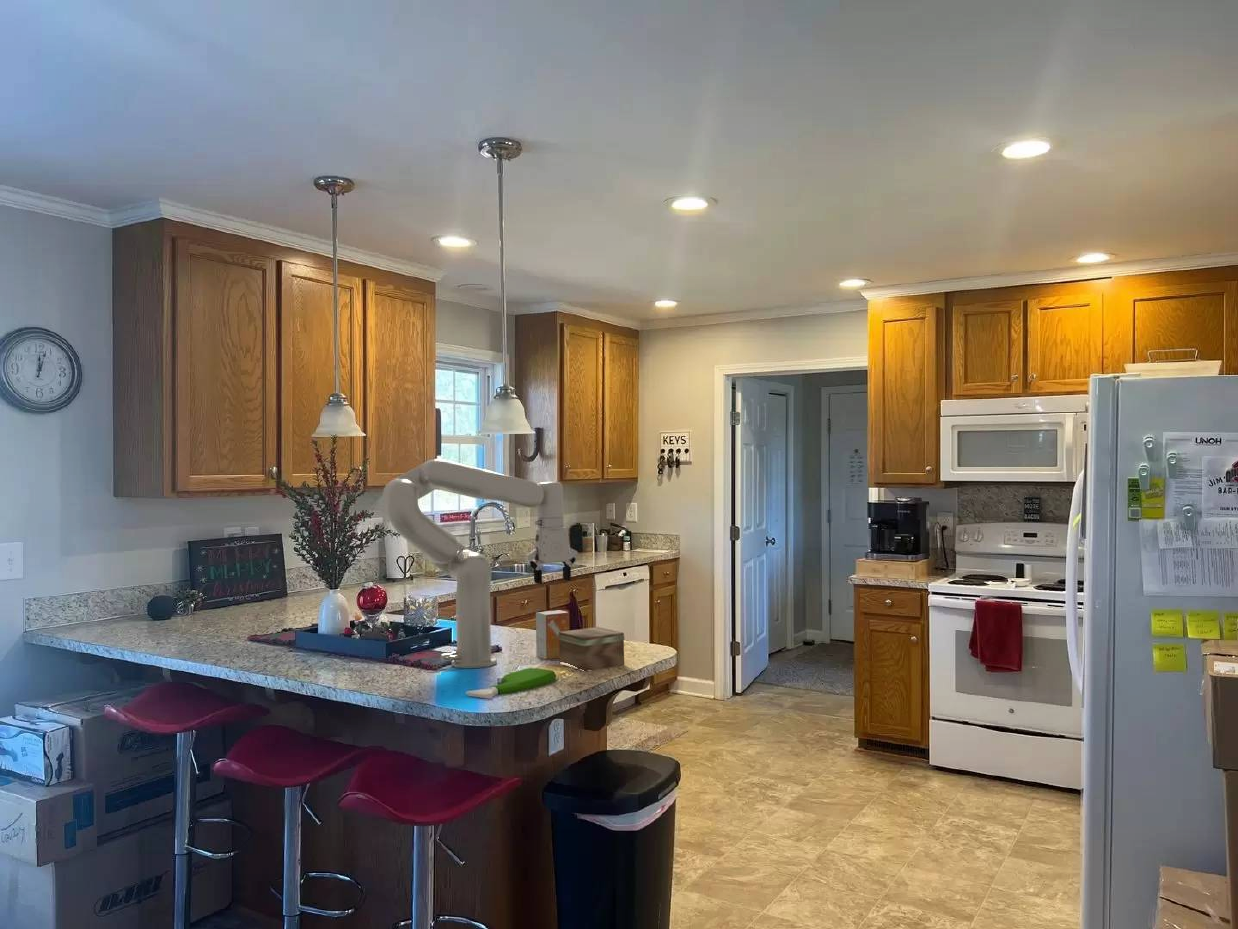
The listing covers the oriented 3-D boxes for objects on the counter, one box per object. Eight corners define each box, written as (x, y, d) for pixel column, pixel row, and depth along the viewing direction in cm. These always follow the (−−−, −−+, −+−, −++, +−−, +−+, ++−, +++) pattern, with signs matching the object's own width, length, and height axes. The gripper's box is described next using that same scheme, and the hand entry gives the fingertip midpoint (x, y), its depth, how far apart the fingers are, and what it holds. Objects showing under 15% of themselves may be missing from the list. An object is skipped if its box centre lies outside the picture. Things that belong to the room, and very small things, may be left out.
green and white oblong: (560, 682, 232) (495, 704, 212) (527, 678, 238) (461, 699, 218) (559, 671, 232) (495, 692, 212) (527, 666, 238) (461, 686, 218)
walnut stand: (584, 672, 242) (584, 638, 242) (558, 664, 253) (558, 632, 253) (625, 665, 250) (624, 632, 250) (598, 658, 261) (597, 626, 261)
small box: (546, 660, 260) (545, 614, 260) (535, 656, 265) (535, 612, 265) (570, 656, 264) (569, 611, 265) (559, 653, 270) (559, 609, 270)
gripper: (531, 525, 257) (533, 585, 257) (582, 522, 267) (584, 580, 267) (518, 525, 264) (520, 583, 263) (569, 521, 274) (570, 578, 273)
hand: (552, 582), depth 265 cm, fingers open, 9 cm apart
